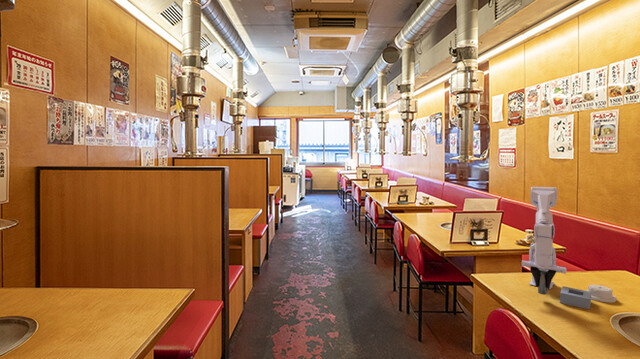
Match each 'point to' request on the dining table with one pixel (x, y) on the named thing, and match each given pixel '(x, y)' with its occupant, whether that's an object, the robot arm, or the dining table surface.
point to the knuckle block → (575, 297)
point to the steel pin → (542, 282)
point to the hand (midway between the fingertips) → (542, 287)
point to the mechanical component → (601, 293)
